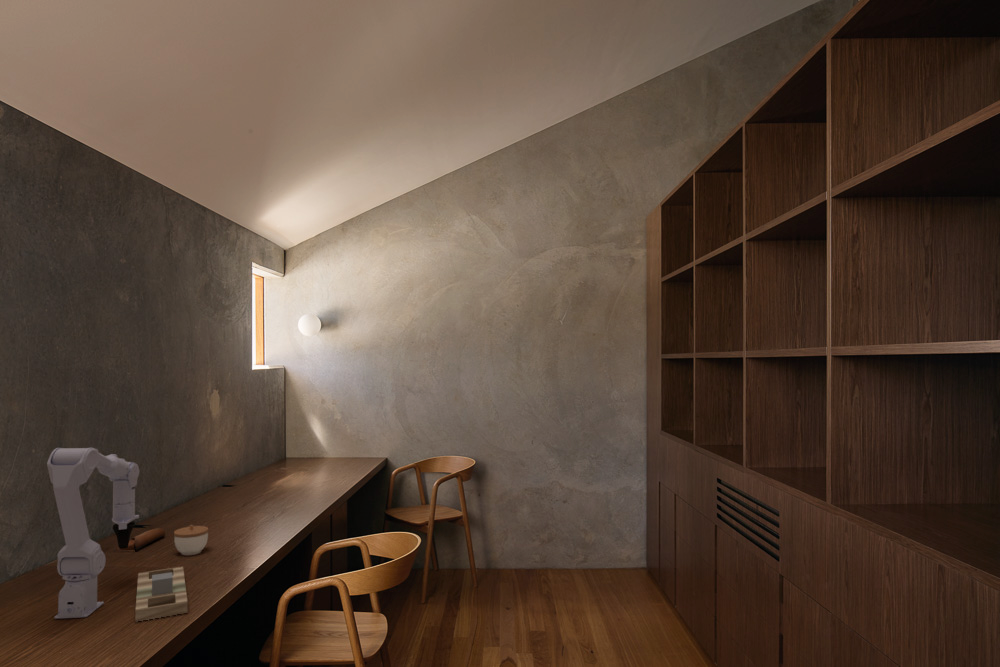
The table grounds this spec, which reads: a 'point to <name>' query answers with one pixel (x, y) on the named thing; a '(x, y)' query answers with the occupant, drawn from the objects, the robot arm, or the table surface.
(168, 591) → the block
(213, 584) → the table surface
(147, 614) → the trap deck
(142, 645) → the table surface
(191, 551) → the lidded jar
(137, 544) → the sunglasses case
